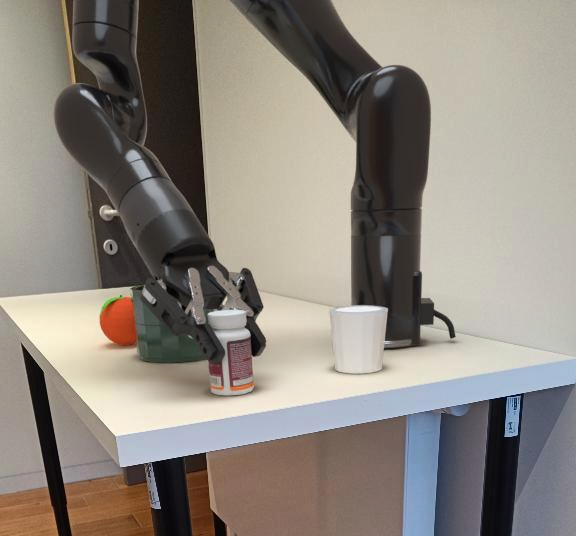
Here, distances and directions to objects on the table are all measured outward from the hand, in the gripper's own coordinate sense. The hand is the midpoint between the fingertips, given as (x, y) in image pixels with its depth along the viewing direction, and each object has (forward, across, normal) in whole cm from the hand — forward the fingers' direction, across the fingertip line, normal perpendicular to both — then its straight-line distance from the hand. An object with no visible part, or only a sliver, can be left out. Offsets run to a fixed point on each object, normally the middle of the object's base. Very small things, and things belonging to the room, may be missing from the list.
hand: (240, 355), depth 79 cm
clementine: (-23, +7, +29) cm, 38 cm away
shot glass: (+4, +17, +2) cm, 18 cm away
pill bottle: (+2, 0, +4) cm, 5 cm away
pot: (-14, +8, +20) cm, 26 cm away
